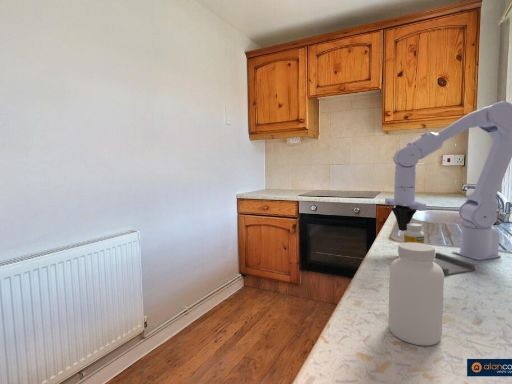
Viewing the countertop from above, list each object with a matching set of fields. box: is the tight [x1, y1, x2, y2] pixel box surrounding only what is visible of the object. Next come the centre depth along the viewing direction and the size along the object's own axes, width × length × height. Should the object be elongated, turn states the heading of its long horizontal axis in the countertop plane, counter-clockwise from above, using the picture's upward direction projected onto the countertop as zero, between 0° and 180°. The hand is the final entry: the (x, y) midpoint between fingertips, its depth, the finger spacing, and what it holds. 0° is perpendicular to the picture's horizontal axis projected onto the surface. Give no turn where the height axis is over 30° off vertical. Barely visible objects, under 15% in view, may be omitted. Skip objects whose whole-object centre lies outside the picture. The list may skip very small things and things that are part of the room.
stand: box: [434, 252, 476, 277], centre depth 81 cm, size 10×11×2 cm
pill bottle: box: [387, 242, 445, 347], centre depth 50 cm, size 8×8×15 cm
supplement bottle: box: [403, 222, 425, 244], centre depth 90 cm, size 5×5×10 cm
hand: (403, 230), depth 94 cm, fingers closed
